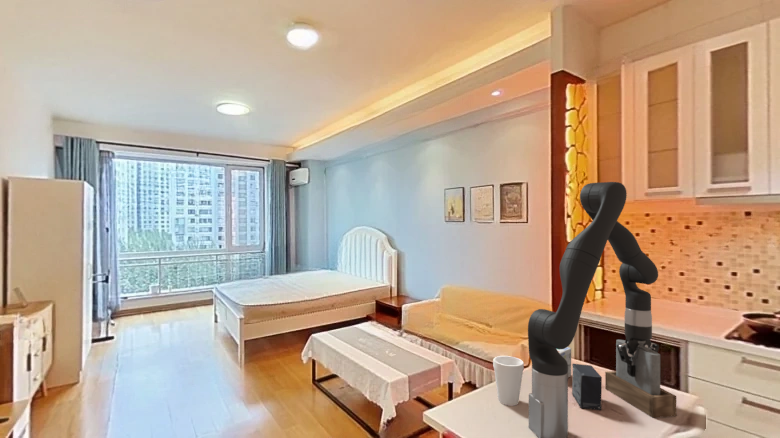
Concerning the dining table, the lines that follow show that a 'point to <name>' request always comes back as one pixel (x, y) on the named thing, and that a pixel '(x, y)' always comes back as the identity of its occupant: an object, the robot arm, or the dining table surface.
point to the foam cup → (508, 378)
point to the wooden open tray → (641, 397)
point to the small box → (586, 386)
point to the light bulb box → (566, 357)
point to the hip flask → (641, 369)
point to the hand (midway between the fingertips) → (637, 375)
